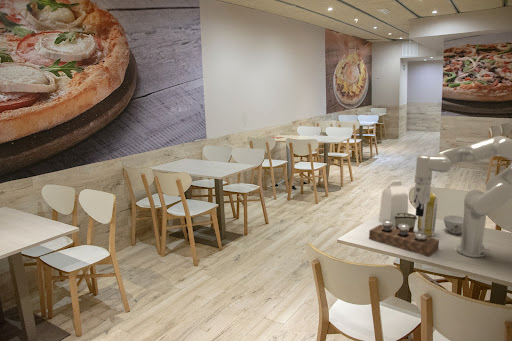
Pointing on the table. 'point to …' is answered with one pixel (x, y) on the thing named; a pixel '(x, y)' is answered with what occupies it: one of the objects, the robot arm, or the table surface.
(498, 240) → the table surface
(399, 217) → the food container
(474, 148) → the robot arm
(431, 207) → the juice carton
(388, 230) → the knob
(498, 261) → the table surface
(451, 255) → the table surface
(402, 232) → the knob
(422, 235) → the knob
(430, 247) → the knob mount
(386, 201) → the milk
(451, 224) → the teacup
